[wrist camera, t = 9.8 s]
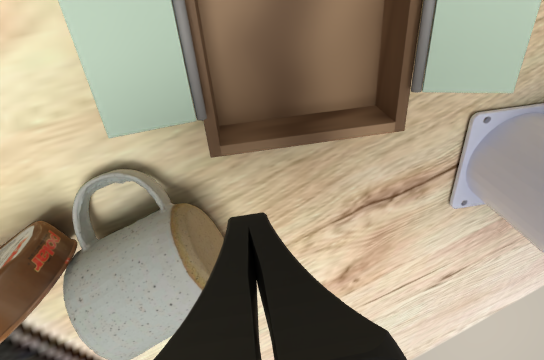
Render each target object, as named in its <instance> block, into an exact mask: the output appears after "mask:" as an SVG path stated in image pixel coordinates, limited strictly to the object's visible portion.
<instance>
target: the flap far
mask: <svg viewBox="0 0 544 360" xmlns="http://www.w3.org/2000/svg"><path fill="white" fill-rule="evenodd" d="M435 2H436V5H435ZM540 4H541V0H424V2H423V9H422V16H421V23H420V30H419V37H418V44H417V51H416V58H415V65H414V72H413V79H412V86H411V91H412V92H421V90H422V91H423V92H455V93H513V92H514V89H515V85H516V82H517V79H518V75H519V72H520V69H521V66H522V62H523V59H524V56H525V53H526V49H527V46H528V43H529V40H530V36H531V33H532V30H533V26H534V23H535V20H536V17H537V13H538V10H539V7H540ZM434 8H435V11H434ZM433 14H434V18H433ZM432 21H433V24H432ZM431 27H432V30H431ZM430 33H431V36H430ZM429 39H430V43H429ZM428 46H429V49H428ZM427 52H428V55H427ZM426 58H427V62H426ZM425 65H426V68H425ZM424 71H425V74H424ZM423 77H424V80H423ZM422 84H423V87H422Z"/></svg>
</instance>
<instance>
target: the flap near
mask: <svg viewBox="0 0 544 360" xmlns="http://www.w3.org/2000/svg"><path fill="white" fill-rule="evenodd" d="M58 1H59V4H60V7H61V10H62V12H63V15H64V18H65V20H66V23H67V26H68V29H69V31H70V34H71V37H72V40H73V42H74V45H75V48H76V50H77V53H78V56H79V59H80V61H81V64H82V67H83V70H84V72H85V75H86V78H87V80H88V83H89V86H90V89H91V91H92V94H93V97H94V99H95V102H96V105H97V108H98V110H99V113H100V116H101V119H102V121H103V124H104V127H105V129H106V132H107V135H108V138H113V137H118V136H123V135H128V134H133V133H138V132H143V131H148V130H153V129H158V128H164V127H169V126H174V125H179V124H184V123H189V122H194V121H196V118H197V120H205V119H207V115H206V109H205V104H204V99H203V94H202V88H201V83H200V78H199V73H198V68H197V62H196V57H195V52H194V47H193V41H192V36H191V31H190V26H189V20H188V15H187V10H186V5H185V0H172V2H171V0H58ZM172 3H173V7H174V12H175V16H174V12H173V7H172ZM175 17H176V21H175ZM176 22H177V26H176ZM177 27H178V31H179V36H180V40H179V36H178V31H177ZM180 41H181V45H180ZM181 46H182V50H181ZM182 51H183V55H184V59H183V55H182ZM184 60H185V64H184ZM185 65H186V69H185ZM186 70H187V74H186ZM187 75H188V78H187ZM188 79H189V83H188ZM189 84H190V88H189ZM190 89H191V93H190ZM191 94H192V98H191ZM192 99H193V102H192ZM193 103H194V107H193ZM194 108H195V112H194ZM195 113H196V117H195Z"/></svg>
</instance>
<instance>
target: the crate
mask: <svg viewBox="0 0 544 360" xmlns="http://www.w3.org/2000/svg"><path fill="white" fill-rule="evenodd" d="M422 1H423V0H185V5H186V10H187V15H188V20H189V26H190V31H191V36H192V41H193V47H194V52H195V57H196V62H197V68H198V73H199V78H200V83H201V88H202V94H203V99H204V104H205V109H206V115H207V119H205V120H204V125H205V131H206V136H207V141H208V146H209V151H210V156H211V157H218V156H226V155H233V154H240V153H247V152H255V151H262V150H269V149H276V148H283V147H291V146H298V145H305V144H312V143H319V142H327V141H334V140H341V139H348V138H356V137H363V136H370V135H377V134H384V133H392V132H399V131H404V129H405V122H406V115H407V108H408V101H409V94H410V87H411V80H412V72H413V65H414V58H415V51H416V44H417V37H418V30H419V23H420V15H421V8H422Z"/></svg>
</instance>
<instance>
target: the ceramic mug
mask: <svg viewBox="0 0 544 360" xmlns="http://www.w3.org/2000/svg"><path fill="white" fill-rule="evenodd" d="M126 181H134V182H136V183H138V184H139V185H140V186H142V187H144V188H145V189H146V190H147V191H148V193H149V194H150V195H151V196H152V197H153V198H154V199H155V201H156V203H157V204H158V206H159V207H160V210H158V211H156V212H154V213H151V214H150V215H148V216H146V217H145V218H142V219H140V220H138V221H136V222H135V223H133V224H131V225H129V226H127V227H125V228H123V229H121V230H118V231H116V232H114V233H112V234H110V235H108V236H106V237H104V238H102V239H99V240H98V239H97V238H96V236H95V233H94V231H93V228H92V225H91V222H90V217H89V201H90V197H91V195H92V194H93V193H94V192H95V191H96V190H98V189H100V188H103V187H105V186H107V185H110V184H112V183H124V182H126ZM72 212H73V225H74V230H75V233H76V236H77V239H78V241H79V243H80V246H81V248H82V249H81V250H80V251H79V252H77V253H76V254H75V255H74V257H73V258H72V259H71V261H70V262H69V264H68V266H67V268H66V272H65V275H64V283H63V292H64V301H65V306H66V309H67V312H68V315H69V318H70V320H71V323H72V325H73V327H74V328H75V330H76V332H77V333H78V335H79V337H80V338H81V340H82V341H83V342H84V343H85V344H86V345H87V346H88V347H89V348H90V349H92V350H93V351H94V352H95V353H96V354H97V355H99V356H101V357H103V358H105V359H108V360H130V359H133V358H135V357H136V356H138V355H140V354H142V353H143V352H145V351H146V350H148V349H150V348H151V347H153V346H155V345H156V344H158V343H160V342H162V341H163V340H165V339H167V338H169V337H171V336H173V335H174V333H175V332H176V331H177V329H178V328H179V327H180V325H181V324H182V323H183V321H184V320H185V318H186V317H187V315H188V314H189V312H190V310H191V309H192V307H193V306H194V304H195V302H196V301H197V299H198V297H199V296H200V294H201V292H202V290H203V288H204V287H205V285H206V283H207V281H208V279H209V277H210V274H211V272H212V270H213V268H214V265H215V263H216V261H217V258H218V256H219V253H220V250H221V247H222V244H223V241H224V238H223V236H222V234H221V233H220V232H219V230H218V229H217V227H216V225H215V224H214V223H213V221H212V220H211V219H210V218H209V217H208V216H207V215H206V214H205V213H204V212H203V211H202V210H201V209H199V208H197V207H196V206H193V205H191V204H187V203H181V204H176V205H174V204H172V203H171V201H170V199H169V197H168V195H167V193H166V192H165V190H164V189H163V188H162V187H161V186H160V185H159V184H158V183H157V182H156V181H155V180H154V179H152V178H151V177H150V176H148V175H146V174H145V173H142V172H140V171H136V170H131V169H117V170H113V171H110V172H107V173H104V174H101V175H99V176H96V177H94V178H92V179H90V180H89V181H88V182H86V183H85V184H84V185H83V186H82V187H81V188H80V189H79V191H78V193H77V194H76V197H75V200H74V205H73V210H72Z"/></svg>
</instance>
